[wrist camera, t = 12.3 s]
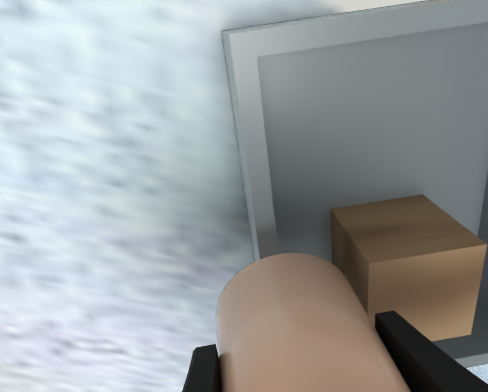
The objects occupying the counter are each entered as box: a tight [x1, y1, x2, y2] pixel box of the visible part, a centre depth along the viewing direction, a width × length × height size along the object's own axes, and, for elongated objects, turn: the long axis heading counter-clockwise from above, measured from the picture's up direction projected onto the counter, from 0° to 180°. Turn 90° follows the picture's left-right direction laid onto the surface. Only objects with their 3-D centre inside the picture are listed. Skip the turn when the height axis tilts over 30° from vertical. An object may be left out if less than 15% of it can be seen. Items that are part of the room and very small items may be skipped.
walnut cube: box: [331, 194, 487, 341], centre depth 19 cm, size 5×5×5 cm
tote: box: [221, 0, 488, 368], centre depth 18 cm, size 18×14×5 cm
